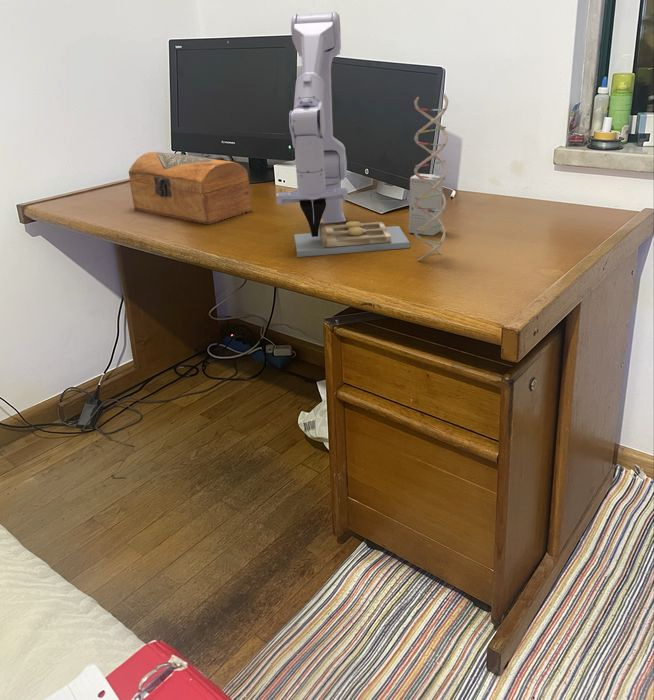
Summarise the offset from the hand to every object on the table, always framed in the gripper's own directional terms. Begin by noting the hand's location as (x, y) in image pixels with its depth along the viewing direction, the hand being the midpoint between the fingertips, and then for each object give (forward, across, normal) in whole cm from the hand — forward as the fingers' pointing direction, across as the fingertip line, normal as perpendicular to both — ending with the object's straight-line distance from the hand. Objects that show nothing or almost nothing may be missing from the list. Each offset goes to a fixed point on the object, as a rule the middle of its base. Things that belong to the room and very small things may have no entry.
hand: (314, 235), depth 144 cm
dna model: (+3, +21, -13) cm, 25 cm away
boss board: (+2, +7, 0) cm, 8 cm away
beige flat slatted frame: (+1, +8, 0) cm, 8 cm away
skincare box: (+3, +24, +4) cm, 25 cm away
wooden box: (+3, -30, +39) cm, 49 cm away
